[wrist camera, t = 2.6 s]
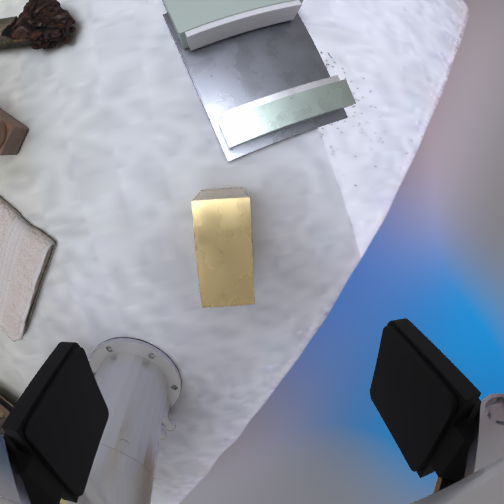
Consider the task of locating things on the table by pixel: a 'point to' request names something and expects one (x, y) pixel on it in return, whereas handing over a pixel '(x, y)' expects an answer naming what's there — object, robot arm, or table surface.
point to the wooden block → (10, 134)
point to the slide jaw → (225, 18)
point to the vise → (264, 86)
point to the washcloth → (20, 269)
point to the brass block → (224, 247)
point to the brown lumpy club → (37, 26)
